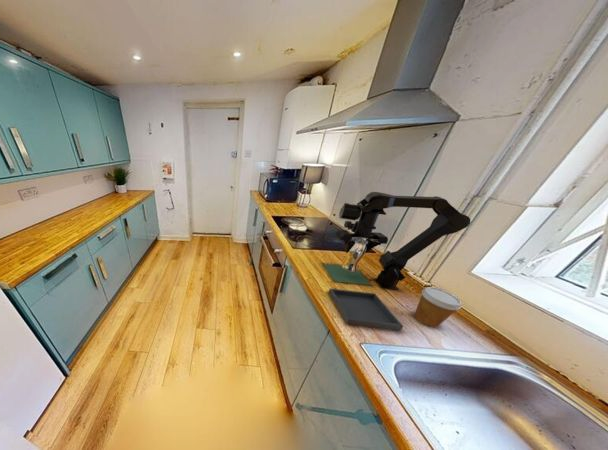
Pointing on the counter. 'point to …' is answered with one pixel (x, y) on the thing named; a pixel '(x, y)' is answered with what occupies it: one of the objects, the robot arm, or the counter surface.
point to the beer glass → (354, 254)
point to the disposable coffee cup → (436, 306)
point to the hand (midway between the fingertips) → (354, 252)
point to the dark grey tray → (364, 310)
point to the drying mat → (346, 275)
